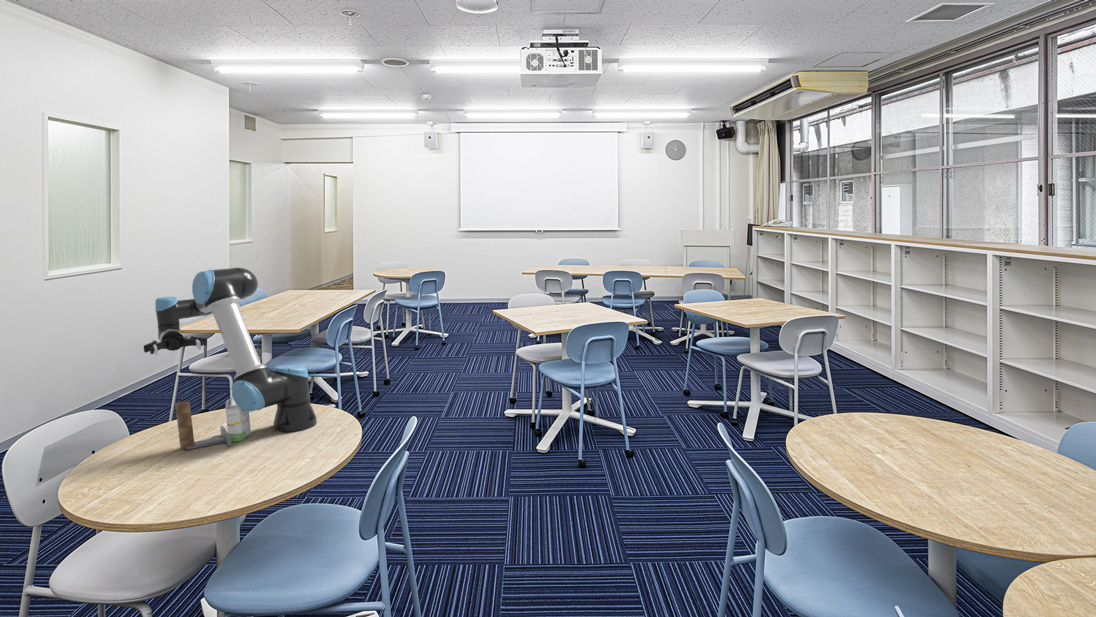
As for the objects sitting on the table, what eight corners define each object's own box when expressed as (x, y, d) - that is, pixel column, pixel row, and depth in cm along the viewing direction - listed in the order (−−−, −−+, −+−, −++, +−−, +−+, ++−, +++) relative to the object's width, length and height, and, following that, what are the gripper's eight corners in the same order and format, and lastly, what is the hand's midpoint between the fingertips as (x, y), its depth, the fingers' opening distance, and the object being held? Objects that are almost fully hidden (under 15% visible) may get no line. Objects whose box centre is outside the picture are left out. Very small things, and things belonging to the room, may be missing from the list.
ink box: (242, 441, 221) (238, 401, 219) (228, 442, 221) (224, 401, 218) (251, 432, 230) (248, 394, 227) (237, 433, 229) (233, 394, 227)
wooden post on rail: (223, 433, 229) (219, 391, 226) (231, 446, 216) (227, 401, 214) (178, 442, 221) (173, 398, 218) (183, 456, 208) (178, 409, 205)
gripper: (209, 344, 251) (217, 353, 234) (135, 353, 236) (138, 364, 219) (207, 326, 249) (215, 333, 232) (133, 334, 235) (136, 343, 218)
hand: (178, 348), depth 226 cm, fingers open, 13 cm apart
